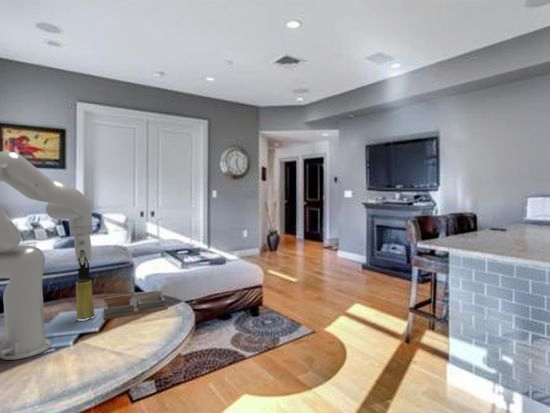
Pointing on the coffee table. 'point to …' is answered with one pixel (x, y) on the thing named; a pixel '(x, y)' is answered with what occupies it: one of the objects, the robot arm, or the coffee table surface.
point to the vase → (84, 299)
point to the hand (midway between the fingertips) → (84, 275)
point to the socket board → (125, 306)
